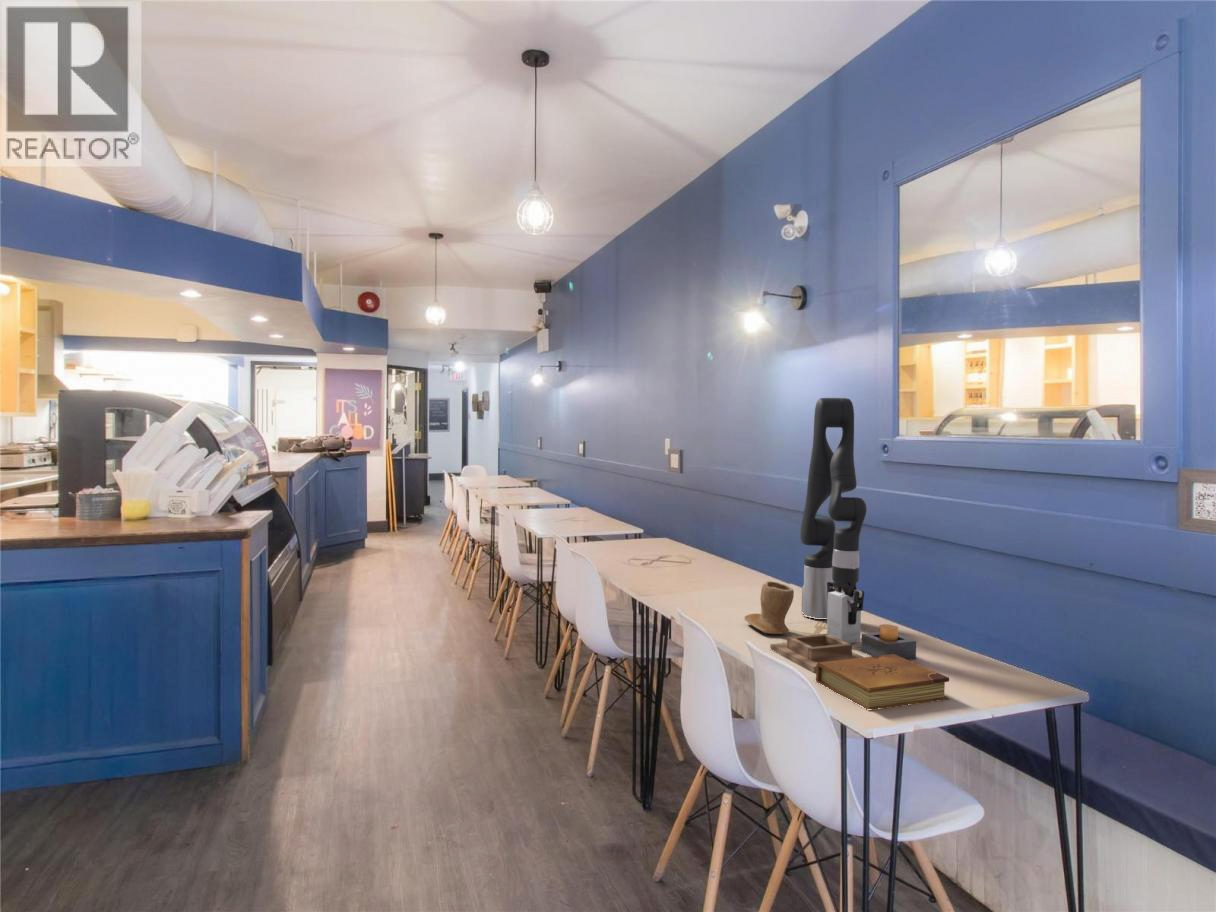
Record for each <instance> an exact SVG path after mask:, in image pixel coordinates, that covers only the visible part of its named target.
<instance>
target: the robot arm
mask: <svg viewBox="0 0 1216 912" xmlns="http://www.w3.org/2000/svg"><path fill="white" fill-rule="evenodd" d="M813 416H814V417H813V418H814V419H813V434H812V435H813V437H812V438H813V439H812V449H811V457H810V463H809V469H808V476H807V486H806V487H807V488H806V496H805V504H804V508H803V513H802V519H801V524H800V532H799V533H800V541H801V543H802V544H803V545H804V546H805V545H806V546H818V547H820V546H821V547H820V549H819V550H818V551H816V552H813V553H810V554H808V555H806V556H804V563H803V566H804V567H803V585H802V587H801V613H802V612H803V613H804V614H805V615H807V616H811V617H815V618H827V613H828V593H829V592H834V591H835V592H841V593H842V594H844V595H848V596H849V597H852V598H853V597H854V600H852V601H849V599H848V600H847V604H848V609H849V612H848V624H850V625H854V624H856V617H857V611H861V612H862V611H863V609H864V600H865V592H864V590H859V589H858V588H857V583H858V582H859V581H860V536H861V531H862V528H863V523H864V520H865V518H866V515H867V504H866V501H864V499H863V498H861V497H858V496H857V497H849V496H847V497H845V496H842V494H843V493H848V492H852V491H854V490H855V489H856V488H857V476H856V475H857V474H856V471H855V470H856V467H855V457H854V456H855V455H854V454H855V453H854V449H855V448H854V447H855V446H854V445H855V410H854V404H853V402H852V400H851V399H850V398H845V397H821V398H819V399H817V401H816V404H815V409H814V415H813ZM827 428H840V429H842V431H841V432H842V435H841V438H840V441H839V444H838V445H837V448H836V449H835V451H834V452H833V450H832V448H831V446H830V445H829V442H828V438H827ZM829 497H830V499H829V503H828V508H827V512H828V515H829V517H816V515H817V514H818V510H819V509H820V508H821V507H822V505H823V504H824V503H825V502H826V501H827V500H828V498H829ZM834 521H836V522H850V523H849V524H848V526H846V527H843V528H839V529H836V523H835V522H834ZM858 603H859V607H857V605H858ZM851 604H853V607H852V606H851Z"/></svg>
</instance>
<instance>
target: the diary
mask: <svg viewBox="0 0 1216 912" xmlns="http://www.w3.org/2000/svg"><path fill="white" fill-rule="evenodd" d="M815 680H816V681H815V682H816V684H817V683H818V684H819V683H820V684H819V685H821V684H822V685H824V686H825V688H826V687H828V688H829V689H831V690H833V691H834V693H835V692H836V693H835V694H837V693H838V694H840V695H842V696H844V697H846V698H848V699H850V700H852V701H853V702H855V703H857V704H859V705H861V706H863V707H864V708H866V709H878V708H885V709H888V708H887V707H892V708H896V707H895V706H899V707H903V706H902V705H906V706H909V705H908V704H913V705H917V704H916V703H920V704H926V703H925V702H927V703H932V702H931V701H934V702H938V701H937V700H941V701H946V700H945V699H948V700H949V697H948V696H946V695H945V687H946V686H945V685H946V684H945V683H947V682H950V677H949V676H947V675H944V674H941V673H939V672H937V671H934V670H932V669H931V668H927V667H925V666H923V665H921V664H918V663H916V662H913V661H911V660H907V659H904V658H902V657H900V656H897V655H895V654H889V655H880V656H865V657H864V656H863V657H862V658H853V659H845V660H836V661H827V662H818V664H817V665H816V672H815ZM822 685H821V686H822ZM824 686H823V687H824ZM828 688H827V689H828ZM829 689H828V690H829ZM831 690H830V691H831ZM833 691H832V692H833ZM838 694H837V695H838ZM840 695H839V696H840ZM842 696H841V697H842ZM844 697H843V698H844ZM846 698H845V699H846ZM853 702H852V703H853ZM855 703H854V704H855ZM878 710H879V709H878Z"/></svg>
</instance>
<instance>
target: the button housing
mask: <svg viewBox="0 0 1216 912" xmlns="http://www.w3.org/2000/svg"><path fill="white" fill-rule="evenodd" d="M860 643H861V644H860V646H861V647H860V651H862V653H864V654H866V653H867V654H866V655H868V654H869V655H868V656H870V655H871V656H880V655H889V654H895V655H897V656H900V657H902V658H904V659H907V660H909V661H911V660H912V661H913V660H916V659H917V640H914V639H911V638H909V637H907V636H904V635H901V634H899V633H898V640H896V641H885V640H883V639H880V638H879V631H877V632H876V631H875V632H868V633H866V632H865V633H861V638H860ZM871 656H870V657H871Z"/></svg>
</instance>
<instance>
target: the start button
mask: <svg viewBox="0 0 1216 912" xmlns="http://www.w3.org/2000/svg"><path fill="white" fill-rule="evenodd" d="M878 632H879V638H880V639H883V640H885V641H896V640H898V634H899V627H898V626H896V625H893V624H887V623H886V624H885V623H884V624H880V625H879V631H878Z"/></svg>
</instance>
